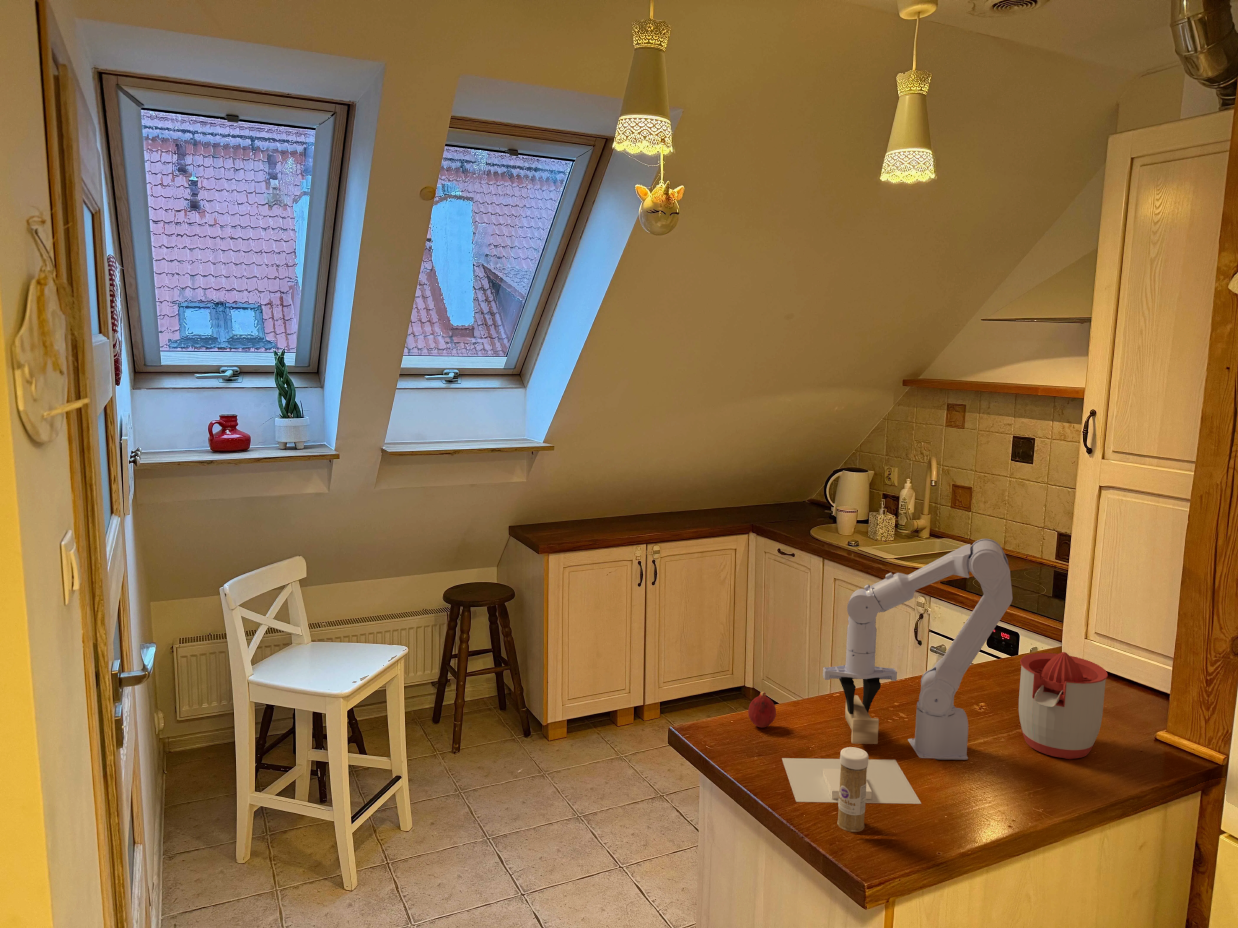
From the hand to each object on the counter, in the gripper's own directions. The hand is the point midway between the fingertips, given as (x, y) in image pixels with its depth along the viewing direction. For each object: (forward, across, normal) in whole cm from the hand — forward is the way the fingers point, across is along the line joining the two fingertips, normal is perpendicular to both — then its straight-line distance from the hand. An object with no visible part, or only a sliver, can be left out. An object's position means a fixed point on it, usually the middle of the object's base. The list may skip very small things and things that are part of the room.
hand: (857, 712), depth 179 cm
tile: (+4, +7, +17) cm, 19 cm away
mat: (+6, +6, +18) cm, 20 cm away
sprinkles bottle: (+6, +9, +33) cm, 35 cm away
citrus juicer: (+6, -39, +3) cm, 40 cm away
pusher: (+4, 0, 0) cm, 4 cm away
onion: (+6, +19, -4) cm, 20 cm away
